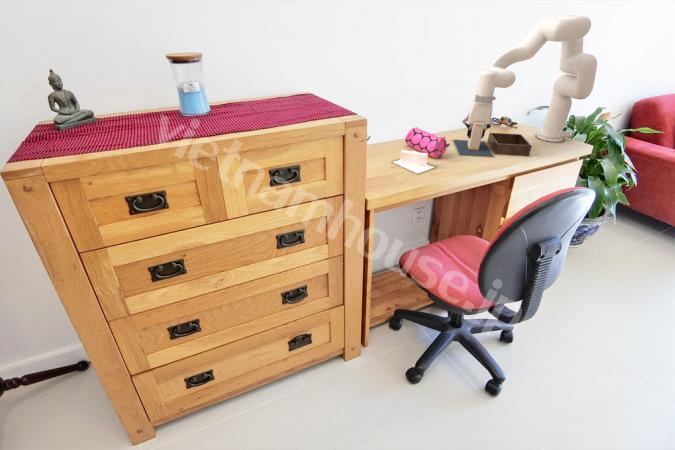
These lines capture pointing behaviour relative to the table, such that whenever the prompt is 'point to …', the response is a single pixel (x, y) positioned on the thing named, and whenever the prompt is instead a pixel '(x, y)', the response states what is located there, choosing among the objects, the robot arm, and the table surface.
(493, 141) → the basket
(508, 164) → the table surface
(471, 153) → the mat
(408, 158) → the napkin holder
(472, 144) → the supplement box
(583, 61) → the robot arm
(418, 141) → the pencil case
